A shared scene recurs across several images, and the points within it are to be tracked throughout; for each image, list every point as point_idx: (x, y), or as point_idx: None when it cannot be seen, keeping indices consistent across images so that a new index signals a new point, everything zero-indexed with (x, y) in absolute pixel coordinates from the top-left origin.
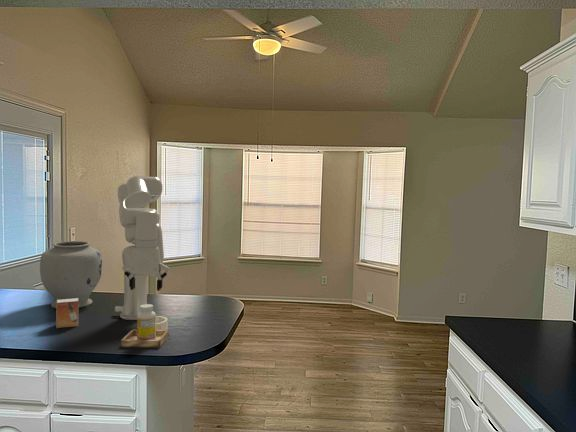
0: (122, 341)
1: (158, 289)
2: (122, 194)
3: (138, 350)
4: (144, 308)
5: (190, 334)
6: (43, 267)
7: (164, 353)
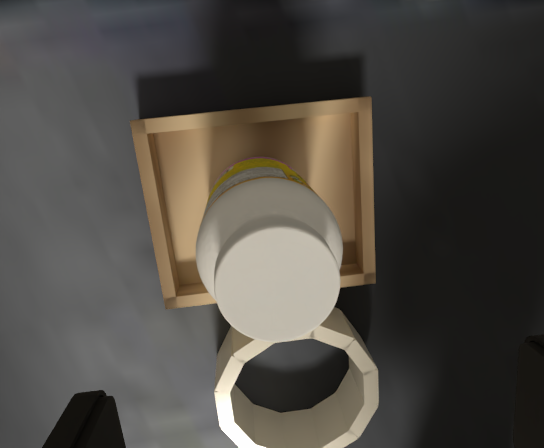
0: (360, 98)
1: (71, 402)
2: None
3: (242, 58)
4: (272, 223)
5: (65, 335)
6: None
7: (72, 29)
